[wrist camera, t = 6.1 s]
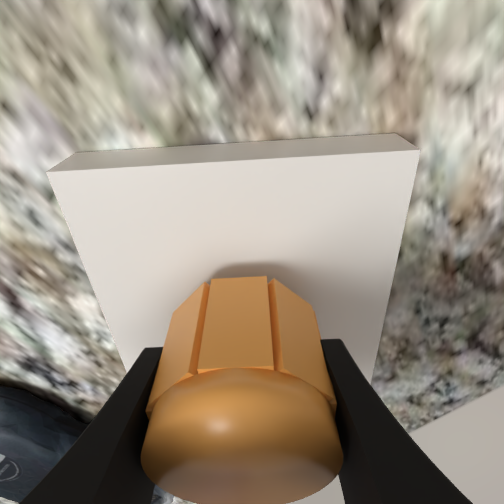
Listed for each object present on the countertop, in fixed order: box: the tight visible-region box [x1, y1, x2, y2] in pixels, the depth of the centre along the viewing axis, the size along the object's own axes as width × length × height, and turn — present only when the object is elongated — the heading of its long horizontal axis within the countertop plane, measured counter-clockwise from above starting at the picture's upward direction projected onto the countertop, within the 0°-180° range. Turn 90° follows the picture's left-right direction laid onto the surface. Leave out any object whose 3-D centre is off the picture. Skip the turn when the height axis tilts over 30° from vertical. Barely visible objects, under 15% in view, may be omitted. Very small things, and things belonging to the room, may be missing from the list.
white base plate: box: [46, 133, 421, 384], centre depth 13 cm, size 12×11×5 cm
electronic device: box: [0, 385, 174, 504], centre depth 20 cm, size 9×6×15 cm
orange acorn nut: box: [141, 276, 343, 504], centre depth 10 cm, size 5×5×4 cm
